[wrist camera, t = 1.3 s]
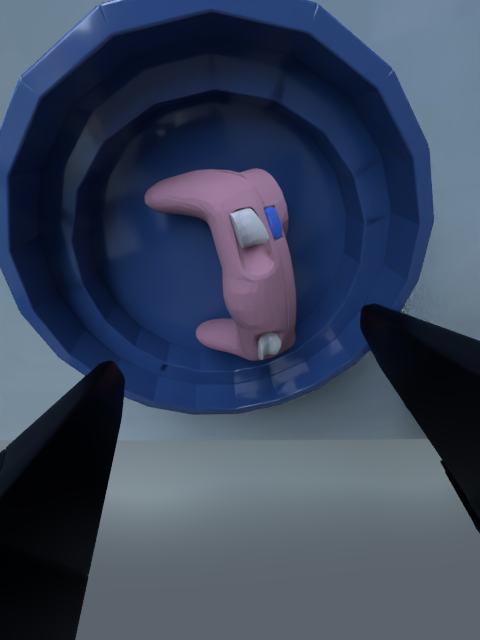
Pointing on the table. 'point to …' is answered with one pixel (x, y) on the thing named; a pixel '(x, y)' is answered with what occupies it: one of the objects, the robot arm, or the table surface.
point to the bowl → (200, 154)
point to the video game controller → (241, 255)
